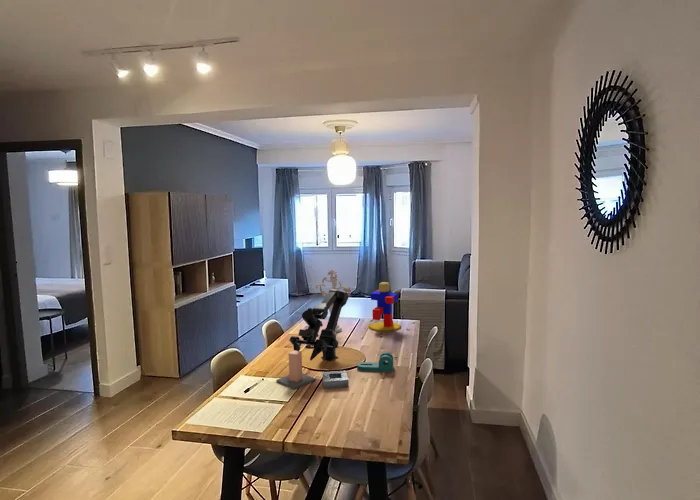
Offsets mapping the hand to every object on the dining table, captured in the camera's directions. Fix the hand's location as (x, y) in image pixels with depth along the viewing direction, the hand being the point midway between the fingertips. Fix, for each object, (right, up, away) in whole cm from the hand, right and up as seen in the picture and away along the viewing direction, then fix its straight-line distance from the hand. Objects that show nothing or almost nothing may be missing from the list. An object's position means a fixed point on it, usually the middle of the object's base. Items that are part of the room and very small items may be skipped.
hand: (302, 359), depth 207 cm
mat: (-2, -9, -4) cm, 11 cm away
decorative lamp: (+13, -1, +74) cm, 75 cm away
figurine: (+46, +1, +81) cm, 93 cm away
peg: (-2, -8, -5) cm, 10 cm away
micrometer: (+2, -4, +49) cm, 49 cm away
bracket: (+35, -8, +9) cm, 37 cm away
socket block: (+16, -9, -8) cm, 20 cm away
